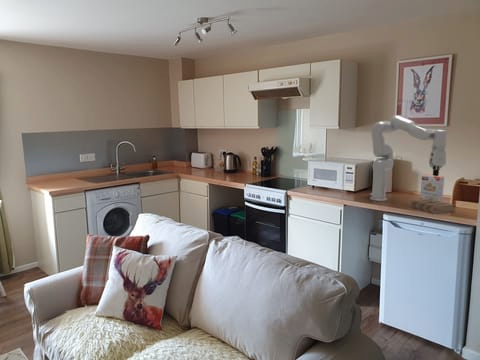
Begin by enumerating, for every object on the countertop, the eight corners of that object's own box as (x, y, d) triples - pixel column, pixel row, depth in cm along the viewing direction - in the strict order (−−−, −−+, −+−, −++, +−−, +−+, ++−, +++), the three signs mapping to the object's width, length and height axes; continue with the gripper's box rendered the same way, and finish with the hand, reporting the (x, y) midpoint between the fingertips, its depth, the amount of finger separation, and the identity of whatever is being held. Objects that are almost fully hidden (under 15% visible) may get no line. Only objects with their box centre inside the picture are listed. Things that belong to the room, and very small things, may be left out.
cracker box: (419, 202, 274) (421, 174, 271) (424, 201, 277) (426, 173, 274) (437, 205, 262) (439, 176, 259) (442, 204, 265) (444, 176, 262)
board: (410, 207, 258) (411, 200, 257) (428, 205, 263) (429, 198, 262) (433, 213, 239) (434, 206, 238) (452, 211, 244) (453, 204, 243)
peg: (427, 209, 252) (428, 196, 250) (431, 208, 253) (432, 196, 251) (431, 210, 249) (432, 197, 247) (434, 209, 250) (436, 196, 248)
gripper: (434, 149, 236) (431, 177, 240) (452, 148, 241) (448, 176, 244) (425, 148, 243) (422, 175, 247) (442, 147, 248) (439, 174, 251)
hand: (435, 175), depth 246 cm, fingers closed
